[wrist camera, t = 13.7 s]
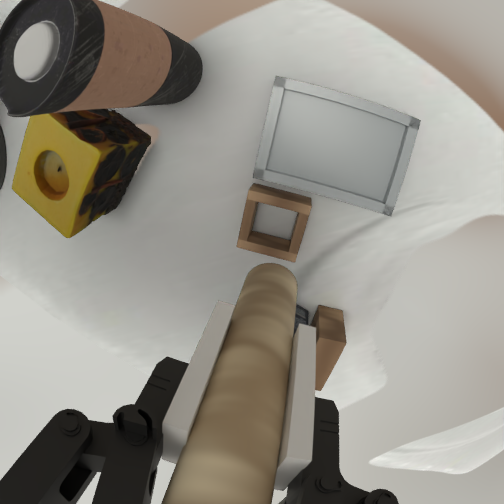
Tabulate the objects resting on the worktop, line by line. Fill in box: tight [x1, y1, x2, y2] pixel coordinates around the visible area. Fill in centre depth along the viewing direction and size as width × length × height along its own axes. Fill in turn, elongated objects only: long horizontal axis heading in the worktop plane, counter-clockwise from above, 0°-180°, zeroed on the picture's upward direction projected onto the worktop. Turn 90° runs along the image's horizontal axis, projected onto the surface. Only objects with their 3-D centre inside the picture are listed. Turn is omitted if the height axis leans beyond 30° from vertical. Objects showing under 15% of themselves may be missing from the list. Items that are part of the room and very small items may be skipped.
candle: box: [12, 109, 151, 238], centre depth 29 cm, size 10×10×10 cm
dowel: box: [162, 263, 297, 504], centre depth 12 cm, size 3×3×14 cm
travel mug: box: [0, 0, 202, 117], centre depth 19 cm, size 8×8×20 cm
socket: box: [237, 183, 312, 262], centre depth 32 cm, size 6×6×3 cm
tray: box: [253, 76, 421, 216], centre depth 28 cm, size 14×10×2 cm
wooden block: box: [311, 305, 346, 391], centre depth 36 cm, size 3×8×6 cm, turn 168°
